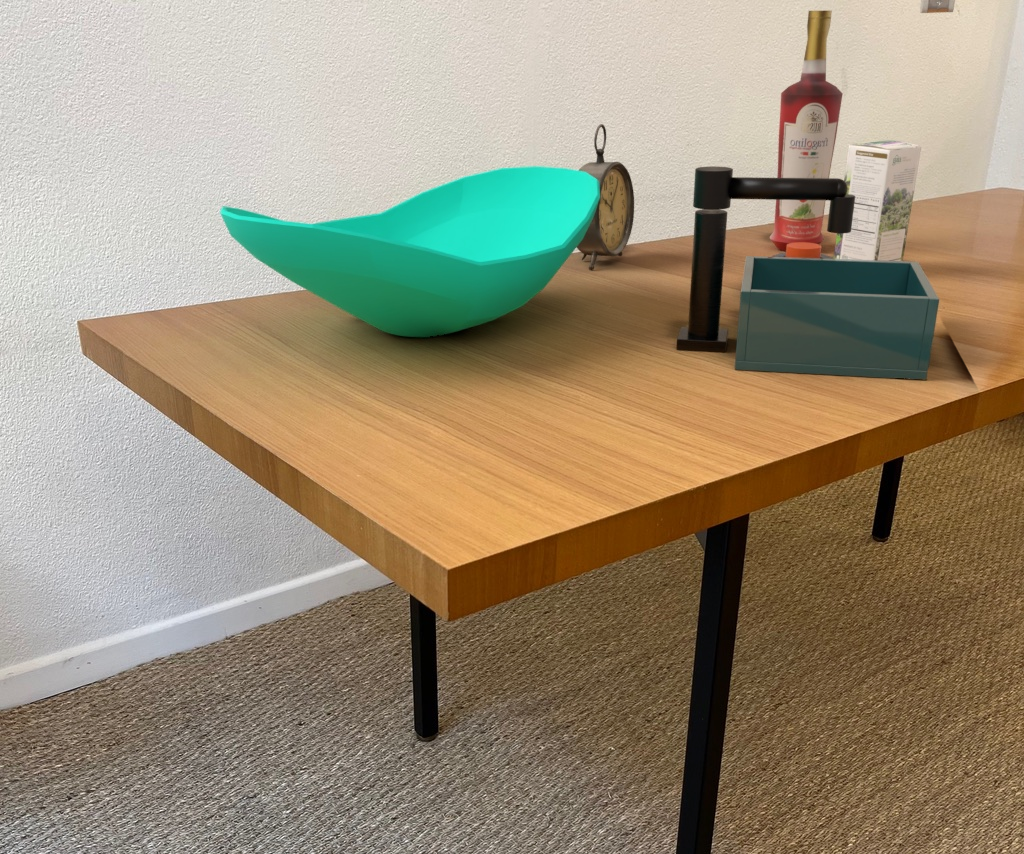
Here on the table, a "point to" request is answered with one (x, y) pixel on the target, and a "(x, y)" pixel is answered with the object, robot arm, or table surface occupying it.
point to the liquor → (807, 137)
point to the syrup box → (879, 199)
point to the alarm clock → (609, 208)
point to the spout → (773, 193)
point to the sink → (836, 317)
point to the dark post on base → (706, 285)
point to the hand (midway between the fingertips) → (936, 12)
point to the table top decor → (434, 249)
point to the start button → (803, 250)
